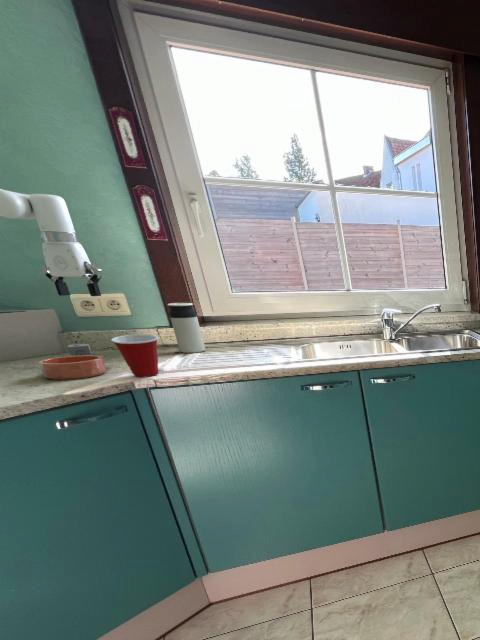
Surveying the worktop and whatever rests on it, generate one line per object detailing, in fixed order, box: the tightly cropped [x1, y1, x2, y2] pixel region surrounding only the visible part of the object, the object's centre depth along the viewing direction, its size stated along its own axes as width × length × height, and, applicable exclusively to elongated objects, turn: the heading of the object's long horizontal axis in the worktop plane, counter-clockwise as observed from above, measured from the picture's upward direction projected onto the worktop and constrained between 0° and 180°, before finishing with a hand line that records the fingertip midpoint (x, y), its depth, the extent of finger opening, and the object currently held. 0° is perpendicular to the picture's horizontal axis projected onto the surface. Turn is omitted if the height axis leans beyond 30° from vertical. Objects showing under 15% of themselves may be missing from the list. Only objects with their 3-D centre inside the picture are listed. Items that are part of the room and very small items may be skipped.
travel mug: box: [167, 302, 207, 354], centre depth 188 cm, size 8×8×18 cm
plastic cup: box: [110, 334, 159, 378], centre depth 153 cm, size 11×11×12 cm
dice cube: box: [67, 343, 93, 356], centre depth 172 cm, size 5×5×5 cm
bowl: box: [38, 354, 107, 381], centre depth 151 cm, size 14×14×5 cm
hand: (80, 295), depth 159 cm, fingers open, 9 cm apart
